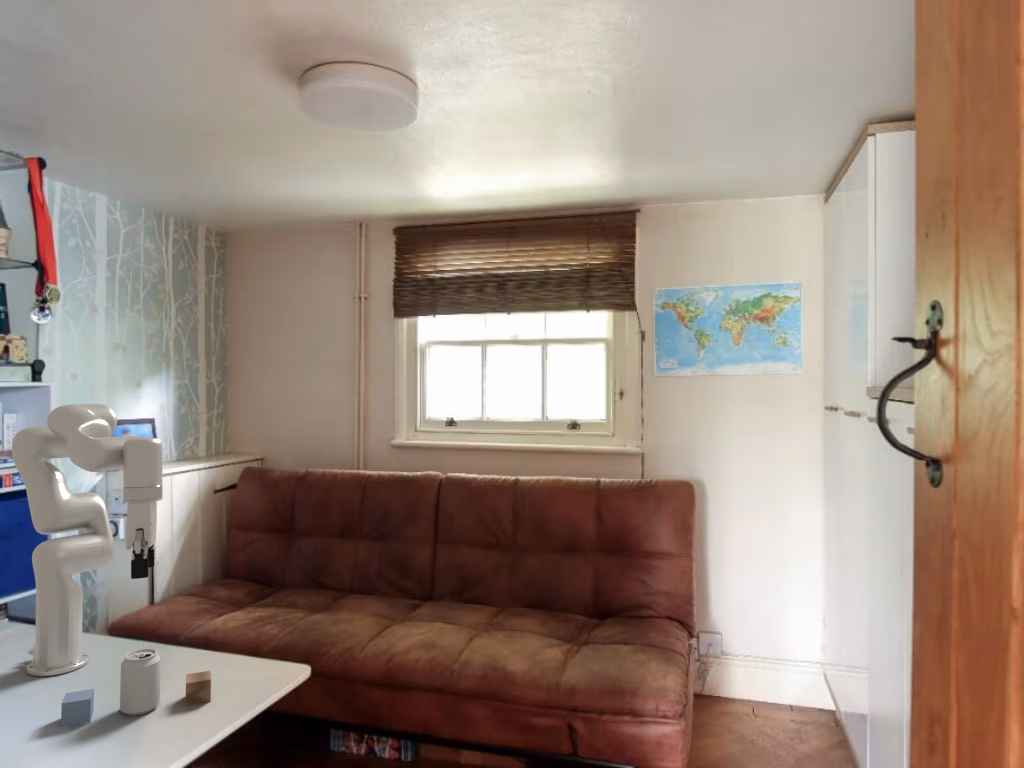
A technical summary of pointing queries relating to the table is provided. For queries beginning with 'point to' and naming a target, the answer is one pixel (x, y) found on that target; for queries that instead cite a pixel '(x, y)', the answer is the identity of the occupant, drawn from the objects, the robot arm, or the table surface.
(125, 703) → the can
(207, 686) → the walnut block
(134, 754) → the table surface
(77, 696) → the slate block
